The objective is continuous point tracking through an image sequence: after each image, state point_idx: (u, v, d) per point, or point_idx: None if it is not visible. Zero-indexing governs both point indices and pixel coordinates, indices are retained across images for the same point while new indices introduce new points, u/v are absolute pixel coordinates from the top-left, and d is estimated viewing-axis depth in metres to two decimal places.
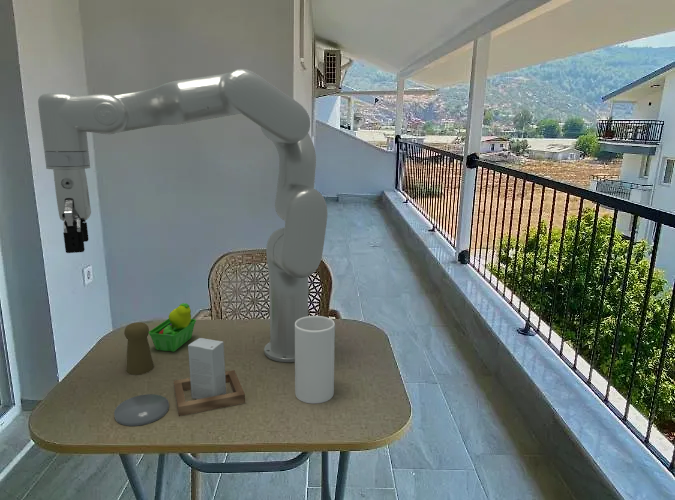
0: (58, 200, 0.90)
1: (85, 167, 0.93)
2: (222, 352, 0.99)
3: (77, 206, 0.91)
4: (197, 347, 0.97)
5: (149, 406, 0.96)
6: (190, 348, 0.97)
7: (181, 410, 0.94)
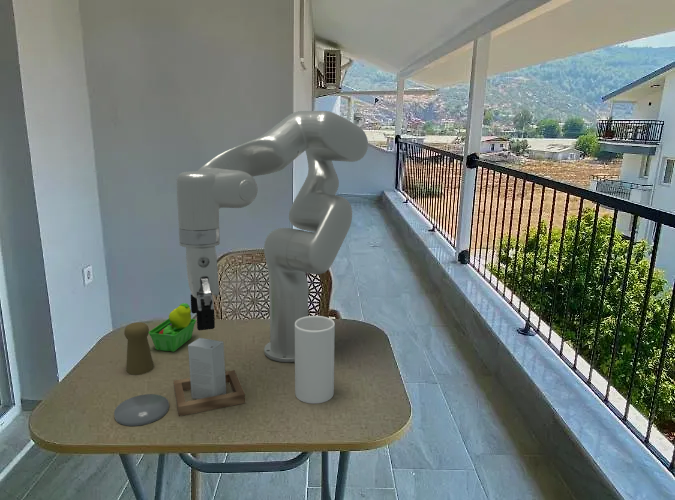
0: (194, 279, 0.90)
1: (217, 243, 0.93)
2: (222, 352, 0.99)
3: (211, 284, 0.91)
4: (197, 347, 0.97)
5: (149, 406, 0.96)
6: (190, 348, 0.98)
7: (181, 410, 0.94)
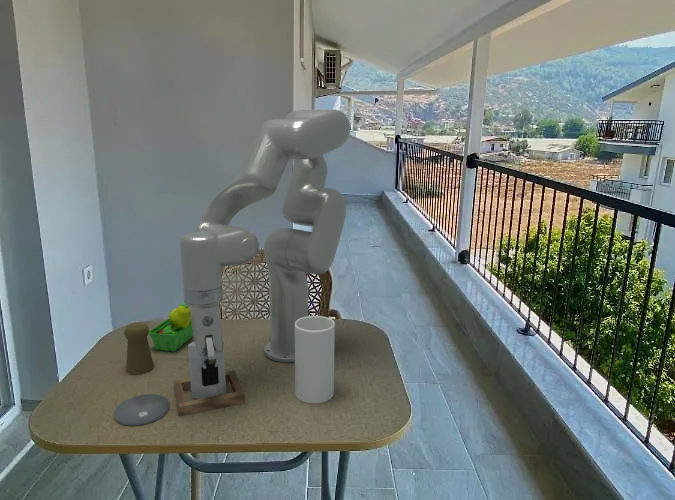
0: (199, 337, 0.93)
1: (221, 301, 0.95)
2: (222, 352, 0.99)
3: (215, 341, 0.94)
4: None
5: (149, 406, 0.96)
6: (190, 348, 0.98)
7: (181, 410, 0.94)
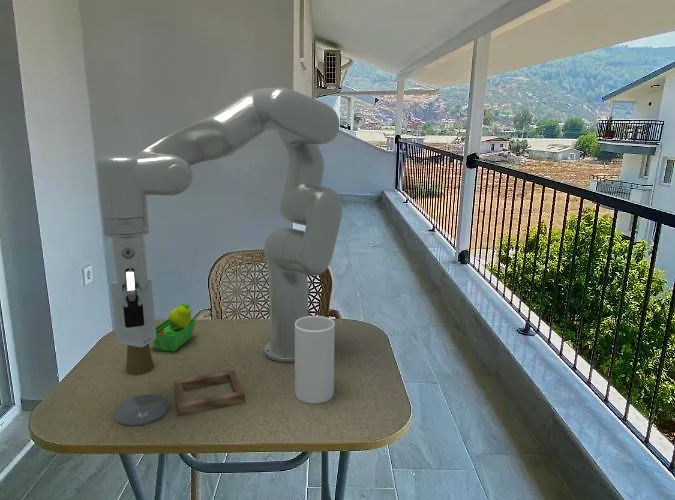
0: (118, 271, 0.83)
1: (145, 233, 0.86)
2: (150, 292, 0.90)
3: (138, 276, 0.85)
4: None
5: (149, 406, 0.96)
6: (113, 286, 0.88)
7: (181, 410, 0.94)
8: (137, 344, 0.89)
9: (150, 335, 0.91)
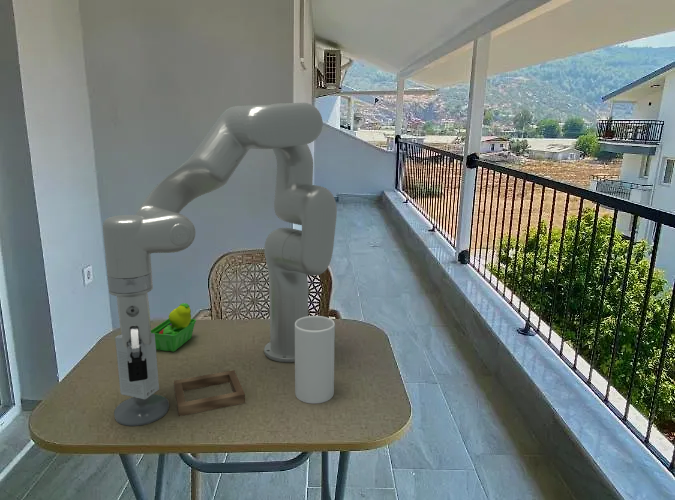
0: (123, 328, 0.86)
1: (149, 290, 0.89)
2: (153, 345, 0.93)
3: (142, 333, 0.87)
4: None
5: (149, 406, 0.96)
6: (117, 340, 0.91)
7: (181, 410, 0.94)
8: (140, 396, 0.92)
9: (153, 386, 0.93)
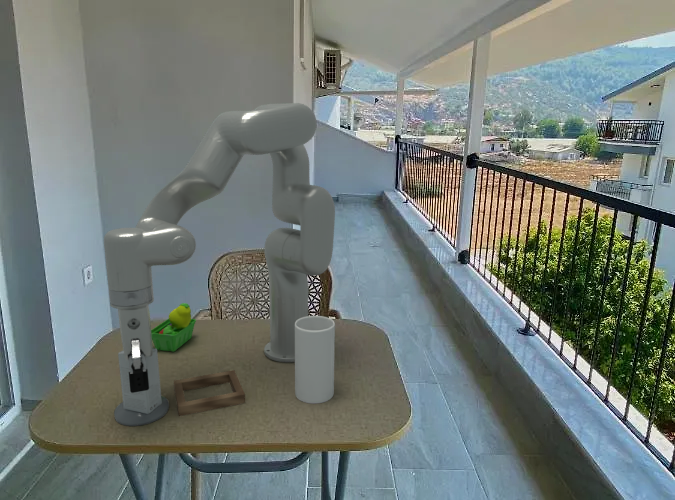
0: (124, 341, 0.86)
1: (150, 302, 0.89)
2: (156, 360, 0.94)
3: (143, 345, 0.88)
4: None
5: None
6: (120, 356, 0.92)
7: (181, 410, 0.94)
8: (144, 411, 0.93)
9: (156, 401, 0.95)
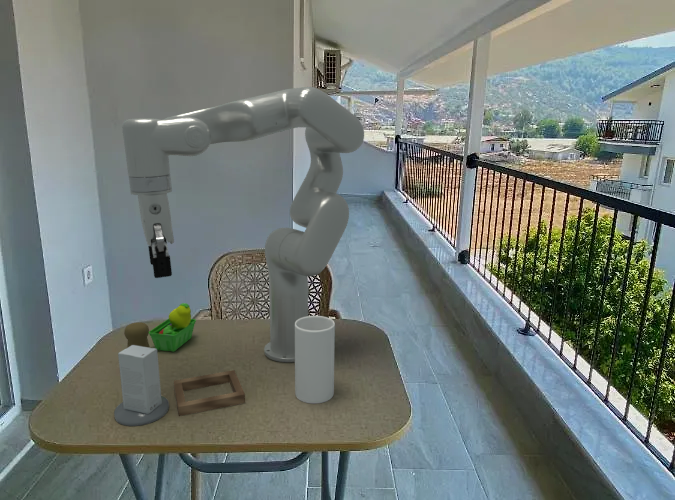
0: (147, 226, 0.90)
1: (169, 191, 0.92)
2: (156, 360, 0.94)
3: (165, 231, 0.91)
4: (127, 355, 0.91)
5: None
6: (120, 356, 0.92)
7: (181, 410, 0.94)
8: (144, 411, 0.93)
9: (156, 401, 0.95)
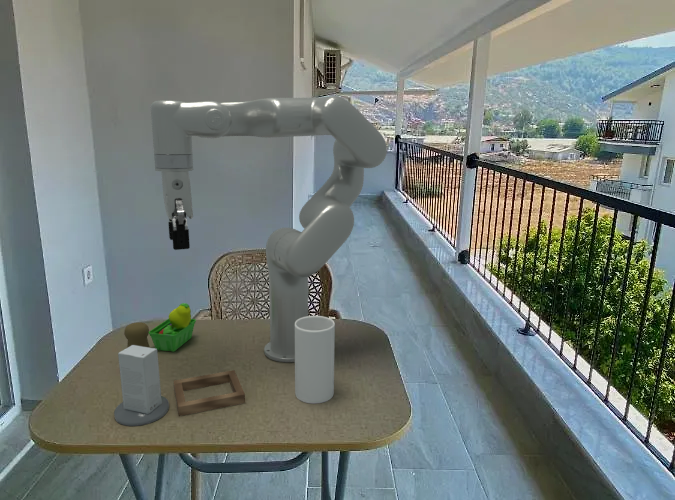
0: (169, 200, 0.96)
1: (191, 169, 0.99)
2: (156, 360, 0.94)
3: (185, 205, 0.97)
4: (127, 355, 0.91)
5: None
6: (120, 356, 0.92)
7: (181, 410, 0.94)
8: (144, 411, 0.93)
9: (156, 401, 0.95)
